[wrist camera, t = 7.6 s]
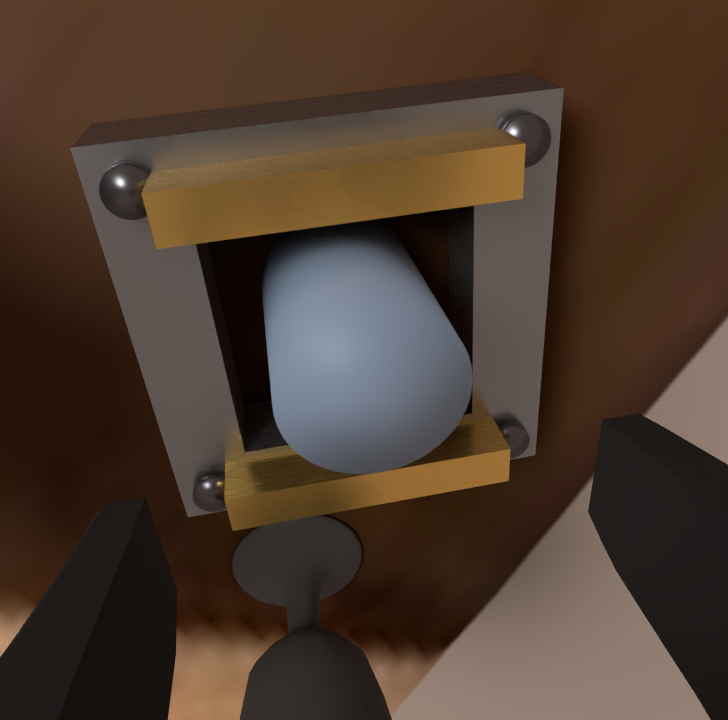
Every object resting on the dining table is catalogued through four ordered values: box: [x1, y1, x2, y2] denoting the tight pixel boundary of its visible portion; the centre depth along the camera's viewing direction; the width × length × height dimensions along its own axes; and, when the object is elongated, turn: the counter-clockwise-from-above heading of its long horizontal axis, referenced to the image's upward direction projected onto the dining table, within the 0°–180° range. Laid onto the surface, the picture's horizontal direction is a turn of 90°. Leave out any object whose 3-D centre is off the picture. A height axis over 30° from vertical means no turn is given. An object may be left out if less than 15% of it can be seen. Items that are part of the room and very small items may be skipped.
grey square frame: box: [70, 73, 564, 531], centre depth 17 cm, size 11×11×4 cm
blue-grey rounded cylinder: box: [261, 219, 473, 474], centre depth 16 cm, size 4×4×6 cm
